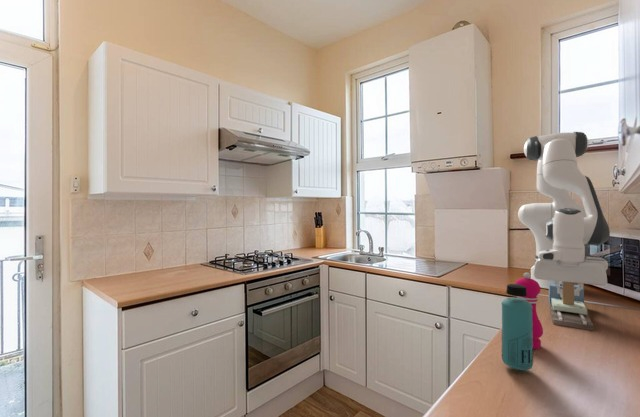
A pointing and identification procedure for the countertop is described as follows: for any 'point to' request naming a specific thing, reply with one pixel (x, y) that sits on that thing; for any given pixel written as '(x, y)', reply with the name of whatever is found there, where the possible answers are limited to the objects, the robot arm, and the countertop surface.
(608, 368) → the countertop surface
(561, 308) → the carriage
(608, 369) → the countertop surface
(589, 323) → the track
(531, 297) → the pepper mill
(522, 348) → the beverage bottle
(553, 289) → the blue side pieces
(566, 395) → the countertop surface
